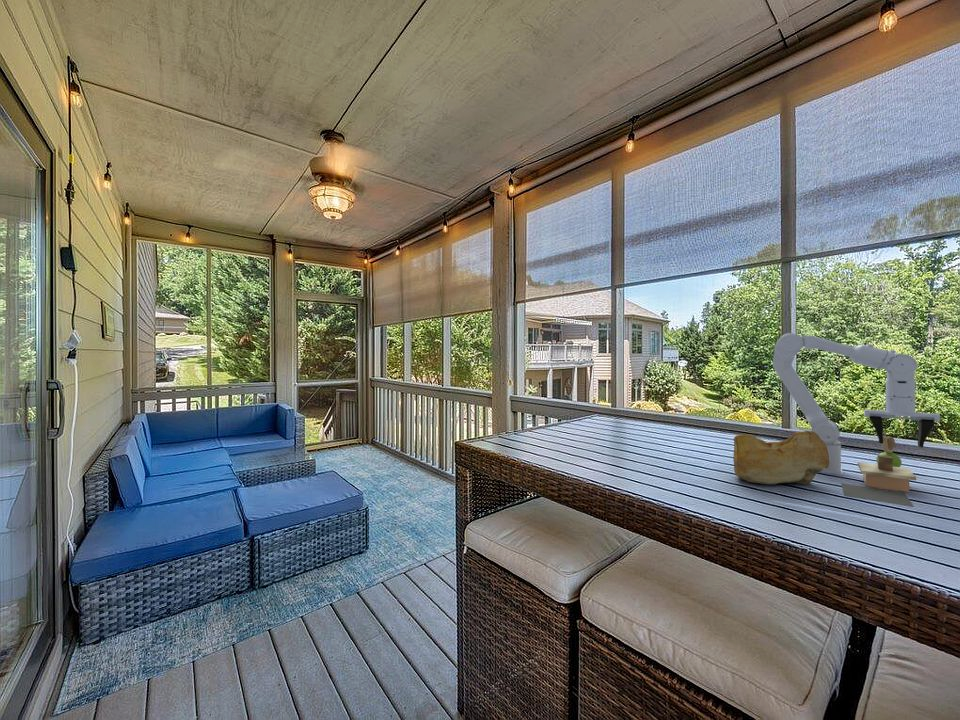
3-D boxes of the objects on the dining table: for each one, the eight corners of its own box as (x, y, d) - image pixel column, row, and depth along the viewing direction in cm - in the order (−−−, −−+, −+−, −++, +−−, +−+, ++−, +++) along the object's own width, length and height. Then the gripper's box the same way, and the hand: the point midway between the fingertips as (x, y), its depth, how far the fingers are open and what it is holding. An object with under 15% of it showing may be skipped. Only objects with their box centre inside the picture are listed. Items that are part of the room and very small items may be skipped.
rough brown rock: (802, 475, 120) (798, 426, 121) (839, 489, 104) (834, 432, 105) (719, 474, 125) (715, 427, 126) (742, 487, 108) (738, 432, 110)
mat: (844, 497, 99) (844, 495, 99) (841, 484, 109) (841, 483, 109) (914, 508, 92) (914, 506, 92) (904, 494, 101) (904, 492, 101)
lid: (861, 473, 106) (861, 457, 106) (857, 465, 114) (857, 450, 113) (916, 480, 99) (916, 463, 99) (908, 471, 107) (908, 455, 107)
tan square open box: (866, 487, 106) (866, 472, 106) (862, 480, 112) (862, 466, 112) (909, 493, 101) (909, 478, 101) (903, 485, 107) (903, 471, 107)
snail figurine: (871, 469, 123) (871, 430, 123) (881, 466, 125) (881, 429, 125) (895, 473, 118) (895, 434, 118) (905, 470, 121) (905, 432, 120)
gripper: (865, 396, 112) (866, 443, 113) (943, 399, 103) (943, 451, 103) (863, 394, 118) (863, 439, 118) (936, 397, 108) (936, 446, 109)
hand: (900, 444), depth 111 cm, fingers open, 7 cm apart
